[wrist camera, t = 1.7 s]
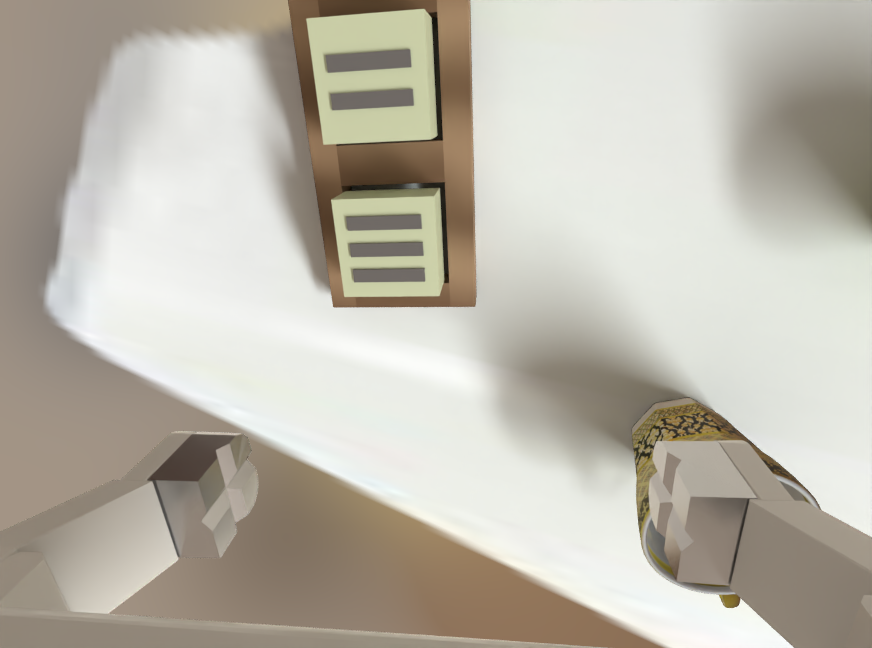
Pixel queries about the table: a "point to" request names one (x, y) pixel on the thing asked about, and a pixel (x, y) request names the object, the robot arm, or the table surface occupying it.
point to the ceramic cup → (656, 424)
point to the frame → (401, 148)
